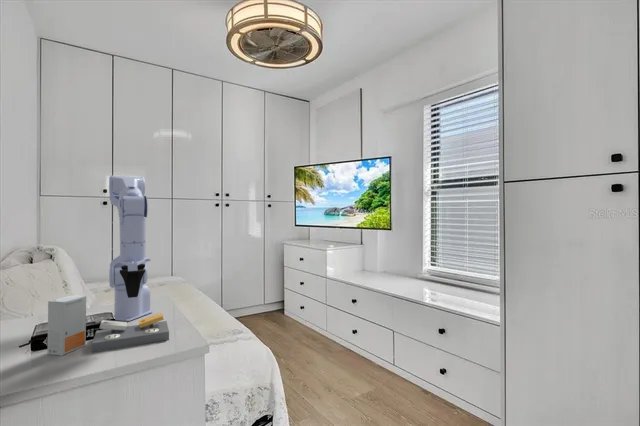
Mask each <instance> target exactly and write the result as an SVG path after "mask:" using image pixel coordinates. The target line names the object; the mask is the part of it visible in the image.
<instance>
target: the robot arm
mask: <svg viewBox="0 0 640 426" xmlns="http://www.w3.org/2000/svg"><path fill="white" fill-rule="evenodd" d="M108 184H109V185H108V187H109V188H108V191H109V201H110V204H111V205H113V206H114V207H116V209H117V213H118V218H119V220H118V221H119V255H118V256H117V257H114V259H112V260H111V262H110V263H109V277H108V278H109V281H108V282H109V287H110V288H111V289H114V314H113V315H114V317H115V320H114V321H118V322H130V321H133V320H136V319H138V318H141V317H143V316H147V315H149V314H152V313H153V310H151V289H150V288H149V286H148V285H147V283H148V266H147V262H151V257H146V245H147V244H146V243H147V242H146V235H147V234H146V230H147V229H146V226H147V225H146V224H147V222H146V221H147V220H146V219H147V218H148V215H149V214H148V213H149V201H148V197H147V196H146V195H145V194H146V179H145V177H143V176H141V177H140V176H121V175H120V176H119V175H110V176H109V179H108Z"/></svg>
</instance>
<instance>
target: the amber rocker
mask: <svg viewBox="0 0 640 426" xmlns="http://www.w3.org/2000/svg"><path fill="white" fill-rule="evenodd" d="M162 321H164V315H163V312H159V313H156V314H154V315H151V316H148V317H145V318H142V319H139V320H138V325H139V326H140V328H142V327H145V326H147V325H150V324H153V323H156V322H162Z"/></svg>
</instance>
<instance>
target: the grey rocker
mask: <svg viewBox="0 0 640 426" xmlns="http://www.w3.org/2000/svg"><path fill="white" fill-rule="evenodd" d="M127 322H128V321H119V320H106V319H105V320H104V319H103V320H101V322H100V325H99V329H100V330H105V329H114V330H126V327H127V326H128V323H127Z"/></svg>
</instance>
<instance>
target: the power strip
mask: <svg viewBox="0 0 640 426" xmlns="http://www.w3.org/2000/svg"><path fill="white" fill-rule="evenodd" d="M168 340H169V341H170V329H169V325H168V321H167V320H165V321H164V320H161V321H158V322H156V323H153V324H150V325H147V326H145V327H142V328H140V326H139V324H136V325H135V324H134V325H127V326H126V330H114V329H100V330H96V331H95V334H94V337H93V340H92V342H91V353H95V352H101V351H108V350H113V349H119V348H125V347H131V346H137V345H144V344H149V343H156V342H162V341H168Z"/></svg>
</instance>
